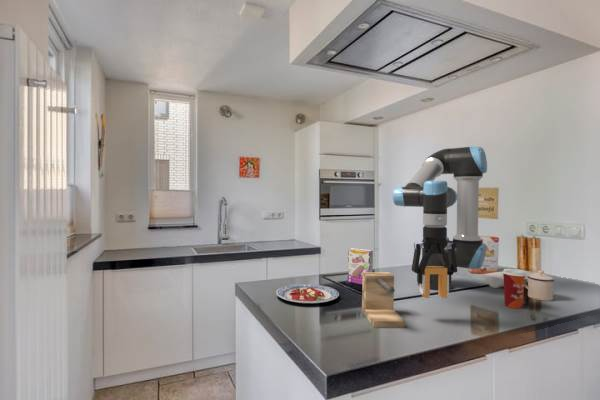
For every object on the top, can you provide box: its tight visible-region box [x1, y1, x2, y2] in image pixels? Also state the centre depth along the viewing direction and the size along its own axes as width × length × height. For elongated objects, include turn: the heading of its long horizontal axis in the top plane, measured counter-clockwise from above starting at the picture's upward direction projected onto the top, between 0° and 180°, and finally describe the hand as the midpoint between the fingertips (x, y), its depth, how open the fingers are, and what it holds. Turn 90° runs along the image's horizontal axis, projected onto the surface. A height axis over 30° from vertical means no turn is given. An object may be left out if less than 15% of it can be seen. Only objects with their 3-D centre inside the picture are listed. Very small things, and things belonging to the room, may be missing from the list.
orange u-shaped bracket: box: [421, 266, 448, 299], centre depth 112 cm, size 3×8×10 cm, turn 93°
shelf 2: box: [481, 268, 536, 289], centre depth 162 cm, size 12×30×5 cm, turn 117°
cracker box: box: [467, 235, 500, 275], centre depth 186 cm, size 14×6×21 cm, turn 81°
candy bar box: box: [347, 247, 374, 286], centre depth 159 cm, size 11×5×16 cm, turn 58°
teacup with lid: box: [524, 269, 555, 302], centre depth 141 cm, size 12×9×12 cm
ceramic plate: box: [276, 283, 340, 305], centre depth 136 cm, size 26×26×3 cm
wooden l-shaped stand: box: [361, 271, 406, 329], centre depth 112 cm, size 17×10×14 cm, turn 3°
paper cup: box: [501, 268, 526, 310], centre depth 128 cm, size 8×8×14 cm
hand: (434, 292), depth 112 cm, fingers closed on orange u-shaped bracket, 7 cm apart
